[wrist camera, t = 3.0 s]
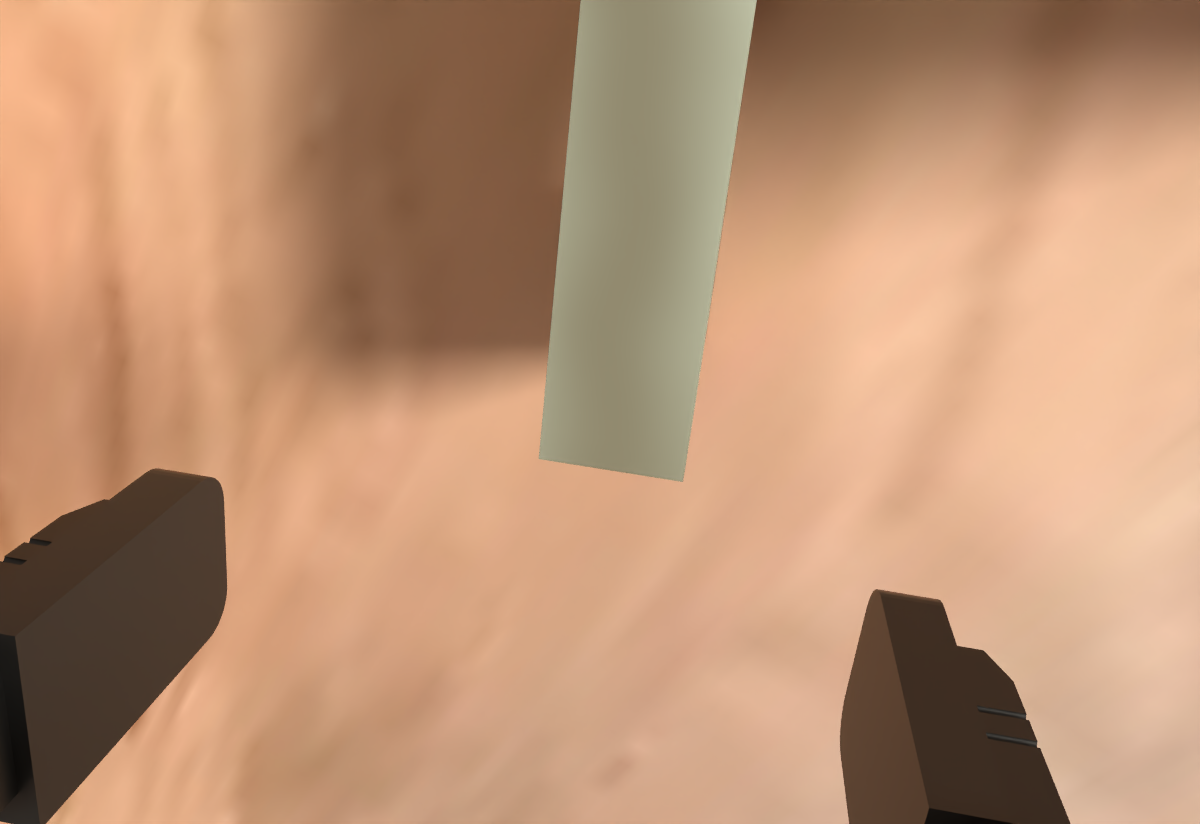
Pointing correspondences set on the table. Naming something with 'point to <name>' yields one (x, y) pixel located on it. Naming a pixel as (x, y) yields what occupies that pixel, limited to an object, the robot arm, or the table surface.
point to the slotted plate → (641, 228)
